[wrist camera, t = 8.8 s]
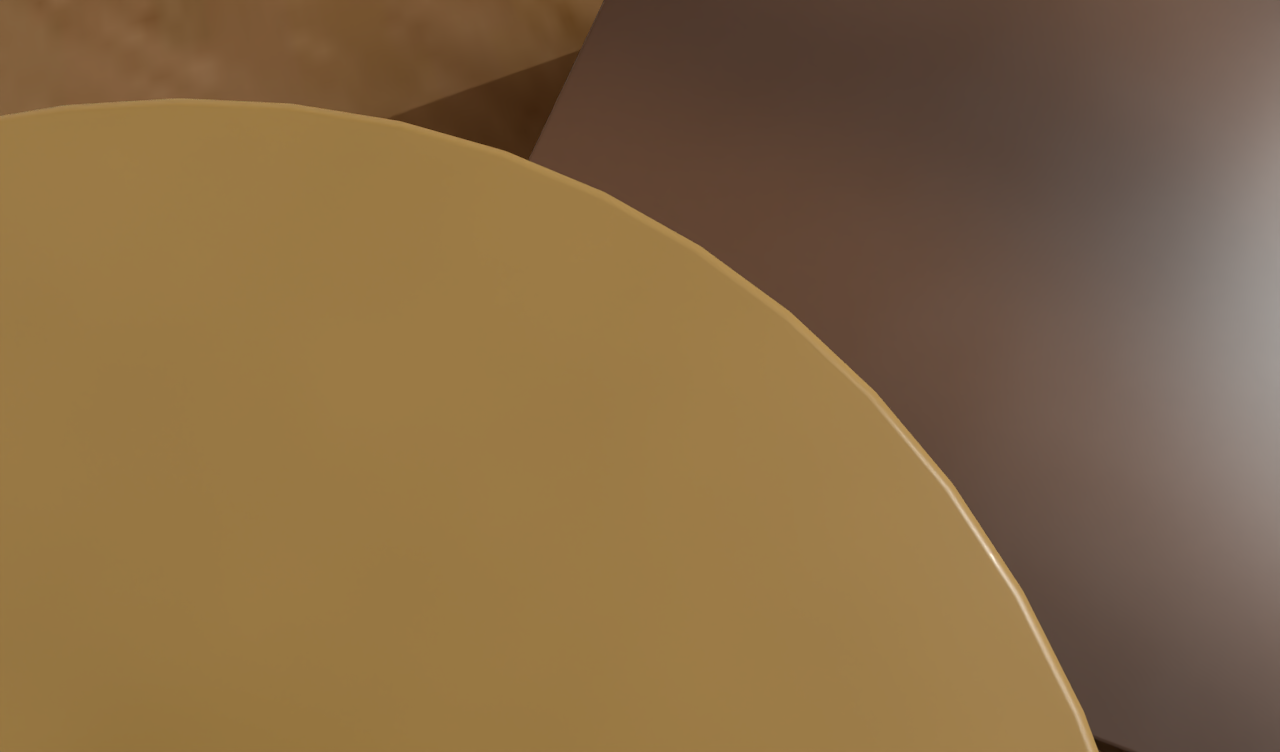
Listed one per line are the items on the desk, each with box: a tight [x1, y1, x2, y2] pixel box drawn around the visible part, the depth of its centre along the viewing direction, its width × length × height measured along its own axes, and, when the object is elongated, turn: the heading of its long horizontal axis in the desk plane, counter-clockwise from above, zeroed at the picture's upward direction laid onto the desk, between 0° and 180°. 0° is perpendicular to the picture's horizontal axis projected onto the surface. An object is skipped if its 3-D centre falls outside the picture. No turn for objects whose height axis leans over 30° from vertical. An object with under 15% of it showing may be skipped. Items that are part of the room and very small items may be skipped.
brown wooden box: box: [528, 0, 1280, 752], centre depth 20 cm, size 15×15×8 cm
